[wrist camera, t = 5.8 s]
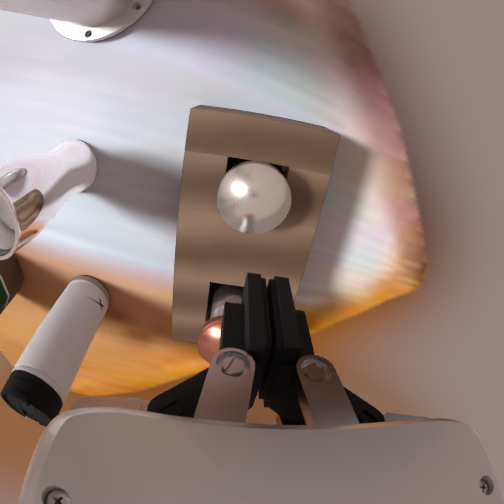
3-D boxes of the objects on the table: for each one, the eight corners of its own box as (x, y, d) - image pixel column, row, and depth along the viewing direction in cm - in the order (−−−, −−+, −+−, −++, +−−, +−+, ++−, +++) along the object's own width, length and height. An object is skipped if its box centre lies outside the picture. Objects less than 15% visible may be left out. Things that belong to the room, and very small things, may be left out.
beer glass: (66, 123, 28) (-29, 157, 15) (112, 158, 30) (31, 213, 17) (41, 172, 30) (-45, 228, 17) (82, 207, 33) (8, 279, 19)
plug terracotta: (209, 266, 32) (200, 319, 25) (264, 274, 33) (269, 328, 26) (204, 309, 35) (195, 364, 28) (254, 315, 35) (256, 371, 28)
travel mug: (114, 282, 37) (48, 413, 20) (107, 318, 40) (55, 441, 23) (71, 265, 36) (-9, 382, 19) (68, 302, 39) (4, 415, 22)
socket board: (200, 105, 28) (190, 108, 23) (323, 126, 29) (340, 135, 24) (179, 306, 39) (171, 339, 34) (274, 318, 40) (277, 352, 35)
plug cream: (228, 141, 30) (222, 158, 22) (285, 151, 30) (298, 171, 23) (220, 194, 32) (212, 228, 25) (274, 203, 33) (282, 238, 26)
